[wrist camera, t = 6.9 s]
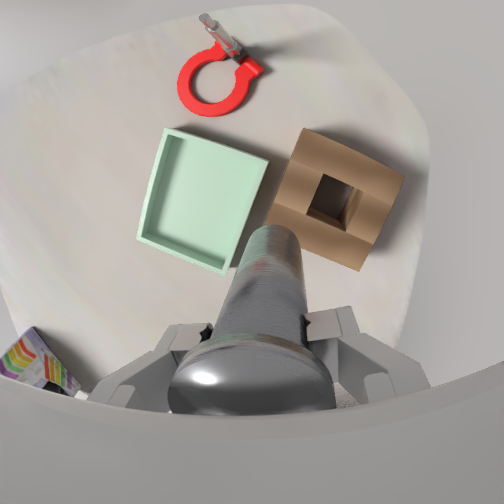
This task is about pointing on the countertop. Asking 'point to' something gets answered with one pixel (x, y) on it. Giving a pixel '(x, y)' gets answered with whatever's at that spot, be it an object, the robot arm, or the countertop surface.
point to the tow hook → (218, 53)
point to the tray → (199, 199)
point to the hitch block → (356, 207)
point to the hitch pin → (257, 342)
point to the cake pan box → (37, 366)
